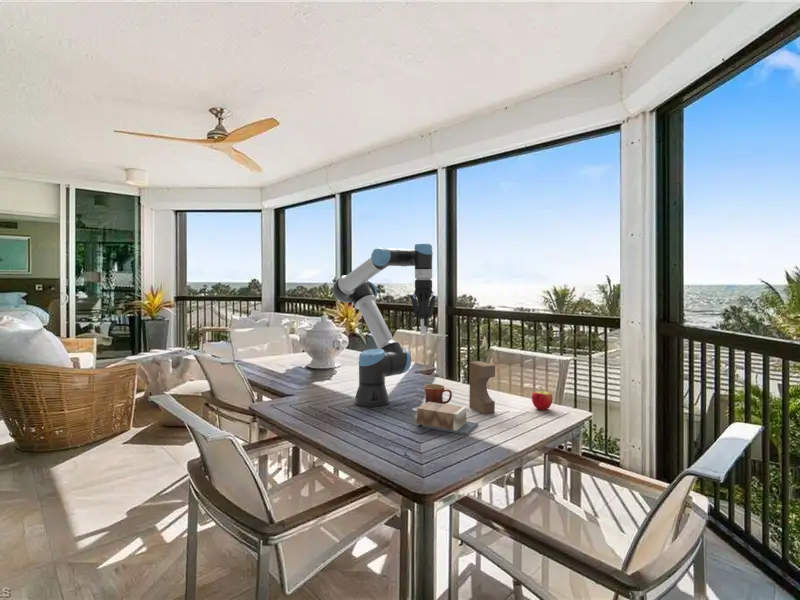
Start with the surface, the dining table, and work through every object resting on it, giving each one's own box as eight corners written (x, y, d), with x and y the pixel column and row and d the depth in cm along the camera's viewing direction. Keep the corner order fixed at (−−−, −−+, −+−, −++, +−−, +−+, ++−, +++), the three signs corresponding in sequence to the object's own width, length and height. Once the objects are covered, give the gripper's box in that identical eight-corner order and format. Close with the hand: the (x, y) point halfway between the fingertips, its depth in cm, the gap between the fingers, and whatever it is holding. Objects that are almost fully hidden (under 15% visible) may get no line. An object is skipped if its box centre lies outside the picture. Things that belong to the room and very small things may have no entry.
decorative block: (495, 412, 185) (495, 365, 184) (483, 414, 183) (484, 366, 181) (479, 405, 195) (480, 360, 194) (468, 407, 193) (469, 361, 191)
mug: (421, 412, 186) (421, 388, 185) (426, 406, 194) (426, 383, 193) (449, 415, 182) (449, 390, 181) (453, 409, 190) (454, 385, 189)
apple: (528, 409, 190) (528, 386, 189) (537, 405, 196) (537, 382, 196) (546, 413, 184) (547, 389, 184) (555, 408, 191) (555, 385, 190)
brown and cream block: (416, 408, 169) (456, 414, 161) (428, 401, 177) (466, 407, 170) (416, 423, 169) (456, 430, 161) (428, 416, 178) (466, 422, 170)
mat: (422, 426, 168) (422, 424, 168) (435, 417, 178) (435, 415, 178) (467, 435, 159) (467, 432, 159) (478, 425, 170) (478, 423, 170)
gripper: (406, 279, 192) (406, 333, 194) (432, 279, 185) (432, 335, 186) (415, 279, 199) (415, 331, 200) (440, 279, 192) (440, 333, 193)
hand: (423, 333), depth 193 cm, fingers closed
